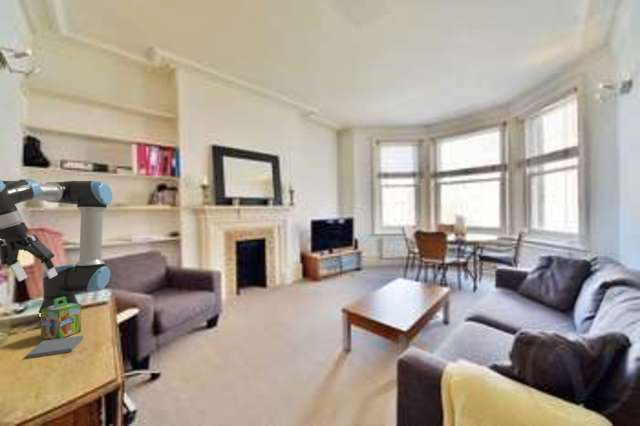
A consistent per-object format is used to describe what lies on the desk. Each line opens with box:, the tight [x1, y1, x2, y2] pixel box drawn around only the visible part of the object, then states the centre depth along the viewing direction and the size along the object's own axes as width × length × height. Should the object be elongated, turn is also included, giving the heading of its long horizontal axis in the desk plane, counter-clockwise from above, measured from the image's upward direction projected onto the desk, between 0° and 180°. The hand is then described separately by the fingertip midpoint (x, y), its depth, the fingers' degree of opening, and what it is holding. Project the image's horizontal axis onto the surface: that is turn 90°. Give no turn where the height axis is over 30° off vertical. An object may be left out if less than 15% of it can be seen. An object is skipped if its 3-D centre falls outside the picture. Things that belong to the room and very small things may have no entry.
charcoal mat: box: [26, 335, 84, 359], centre depth 108 cm, size 12×12×1 cm
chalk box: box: [40, 297, 82, 340], centre depth 119 cm, size 9×9×15 cm
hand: (38, 278), depth 110 cm, fingers open, 13 cm apart
